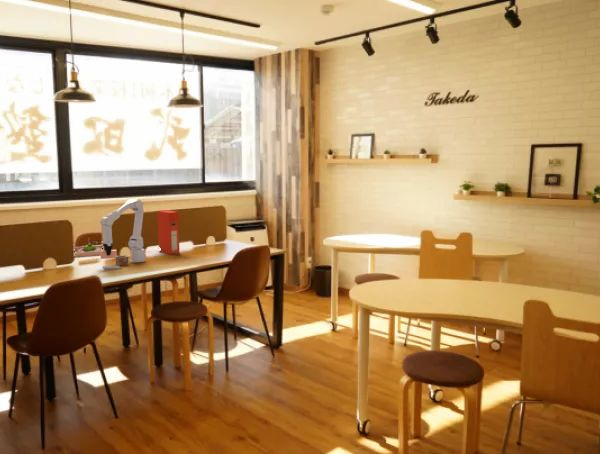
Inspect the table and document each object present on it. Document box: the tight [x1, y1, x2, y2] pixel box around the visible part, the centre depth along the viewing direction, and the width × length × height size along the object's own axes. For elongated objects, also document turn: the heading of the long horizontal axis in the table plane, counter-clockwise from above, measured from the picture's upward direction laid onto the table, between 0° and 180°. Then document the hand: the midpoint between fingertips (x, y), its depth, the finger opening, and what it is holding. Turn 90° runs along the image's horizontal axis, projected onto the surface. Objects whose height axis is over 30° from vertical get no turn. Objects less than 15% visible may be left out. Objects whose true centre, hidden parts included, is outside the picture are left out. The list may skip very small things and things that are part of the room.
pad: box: [102, 264, 122, 271], centre depth 360 cm, size 10×10×1 cm
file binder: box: [157, 209, 180, 256], centre depth 412 cm, size 8×17×32 cm, turn 44°
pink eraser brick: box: [99, 249, 118, 260], centre depth 361 cm, size 10×3×5 cm, turn 117°
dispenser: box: [115, 254, 129, 267], centre depth 370 cm, size 7×6×6 cm
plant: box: [76, 238, 103, 253], centre depth 410 cm, size 20×20×11 cm
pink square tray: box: [73, 244, 103, 258], centre depth 410 cm, size 25×25×3 cm
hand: (108, 254), depth 361 cm, fingers closed on pink eraser brick, 3 cm apart
